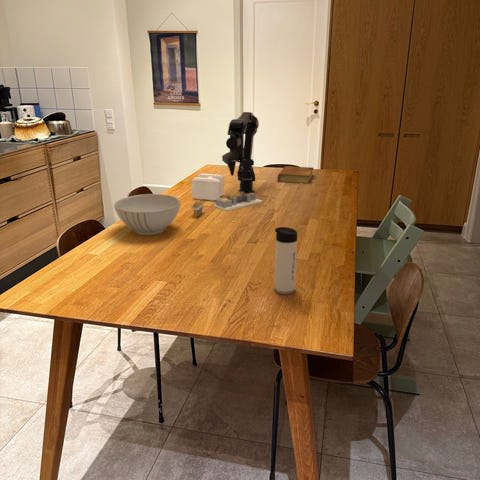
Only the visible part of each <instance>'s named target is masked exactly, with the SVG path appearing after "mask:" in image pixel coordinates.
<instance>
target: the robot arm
mask: <svg viewBox="0 0 480 480" xmlns="http://www.w3.org/2000/svg"><path fill="white" fill-rule="evenodd" d="M259 125H260V124H259V120H258V117H256V116H255V115H254V114H253V112H251V111H244V112H242V114H241V115H240V116H238V118H234V119H231V120H230V121H229V124H228V129H227V136H229V137H228V138H227V139H226V142H225V144H226V145H225V146H226V147H227V148H228V149H229V152H226V153H225V154H223V155H222V156H221V158H222V162H223V163H225V165H227V167H228V170H229V172H230V175H231V176H234V174H235V169H236V163H239V164H238V169H237V182H238V181H239V182H240V183H239V189H238V192H239V193H240V192H244V194H248V193H253V192H255V190H254V189H253V185H254V182H256V175H255V171H254V165H255V161H254V160H253V159H252V156H253V155H252V154H253V145H254V136H256V134H257V132H258V129H259Z"/></svg>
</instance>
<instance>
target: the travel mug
mask: <svg viewBox="0 0 480 480" xmlns="http://www.w3.org/2000/svg"><path fill="white" fill-rule="evenodd" d="M274 232H275V233H276V234H275V235H276V237H275V251H274V252H275V254H274V255H275V256H274V257H275V259H274V289H273V290H274V292H275V293H277V294H279V295H291V294H294V292H295V290H296V277H297V275H296V271H297V253H298V232H297V230H296V229H293V228H290V227H286V226H279V227H275V228H274Z"/></svg>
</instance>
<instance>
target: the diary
mask: <svg viewBox="0 0 480 480" xmlns="http://www.w3.org/2000/svg"><path fill="white" fill-rule="evenodd" d="M313 171H314V167H310V166H309V167H308V166H292V165H291V166H290V165H289V166H288V165H285V166H284V167H282V169H281V171H280V172H279V173H278V174H277V182H278V183H285V184H300V183H303V184H302V185H305V184H306V185H309V184H310V183H311V181H312V179H313V177H314V174H313Z"/></svg>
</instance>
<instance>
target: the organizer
mask: <svg viewBox="0 0 480 480" xmlns="http://www.w3.org/2000/svg"><path fill="white" fill-rule="evenodd" d="M190 183H191V184H190V185H191V197H192V198H193V199H196V200H197V201H198V200H199V201H201V200H206V201H207V200H208V201H212V202H215V201H216V199H218V198H221V196H222V195H224V194H225V193H224V177H223V175H221V174H216V173H215V174H211V173H210V174H209V173H199V174H197V177H196V176H195V177H193V178H191V182H190Z"/></svg>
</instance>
